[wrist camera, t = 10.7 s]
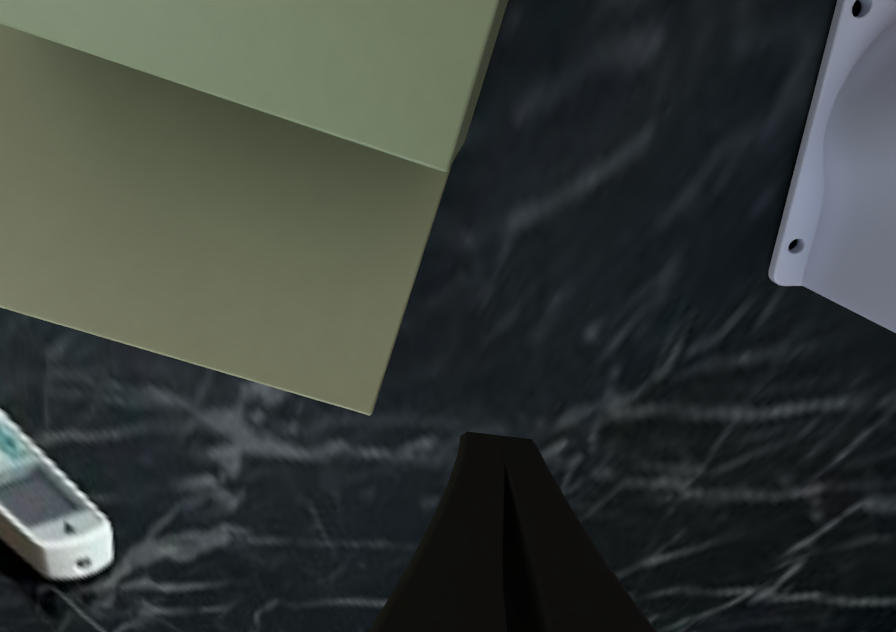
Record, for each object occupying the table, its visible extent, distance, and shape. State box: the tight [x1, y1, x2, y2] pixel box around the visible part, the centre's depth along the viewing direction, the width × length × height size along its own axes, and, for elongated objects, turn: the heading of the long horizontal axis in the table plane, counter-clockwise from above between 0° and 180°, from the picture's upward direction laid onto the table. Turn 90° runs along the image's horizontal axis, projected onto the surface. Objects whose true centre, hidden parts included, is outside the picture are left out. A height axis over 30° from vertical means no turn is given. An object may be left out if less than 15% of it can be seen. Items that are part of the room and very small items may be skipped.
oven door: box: [0, 24, 451, 415], centre depth 16 cm, size 5×15×9 cm
